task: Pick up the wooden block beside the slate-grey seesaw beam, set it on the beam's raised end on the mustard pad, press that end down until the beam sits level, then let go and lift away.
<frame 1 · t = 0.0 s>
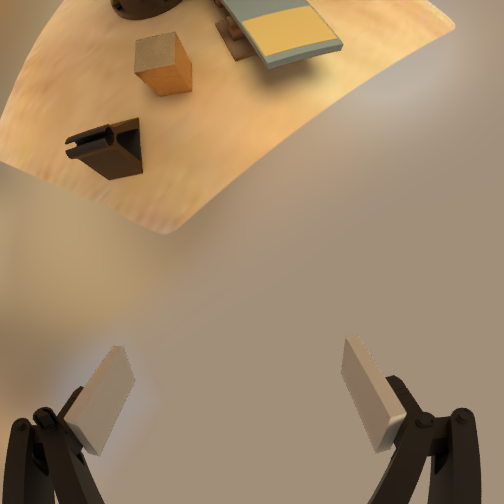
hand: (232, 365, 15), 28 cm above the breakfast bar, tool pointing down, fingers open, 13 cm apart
phone stand: (124, 148, 38), on the breakfast bar
wooden block: (175, 79, 35), on the breakfast bar
beam stand: (263, 30, 33), on the breakfast bar
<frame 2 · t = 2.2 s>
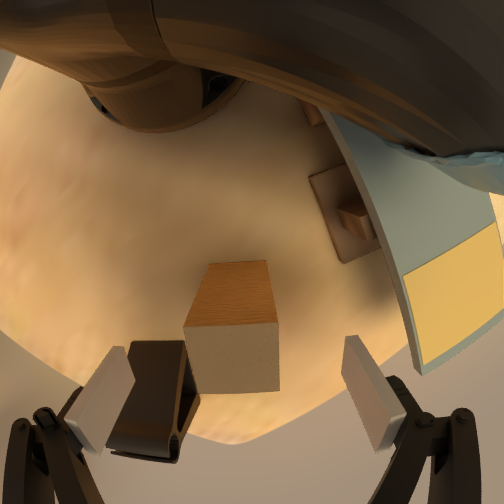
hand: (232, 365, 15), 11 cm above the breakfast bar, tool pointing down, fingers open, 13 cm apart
phone stand: (167, 371, 28), on the breakfast bar
wooden block: (239, 288, 25), on the breakfast bar
beam stand: (386, 194, 23), on the breakfast bar
beam: (445, 202, 14), point 9 cm above the breakfast bar, hinge at -12.0°
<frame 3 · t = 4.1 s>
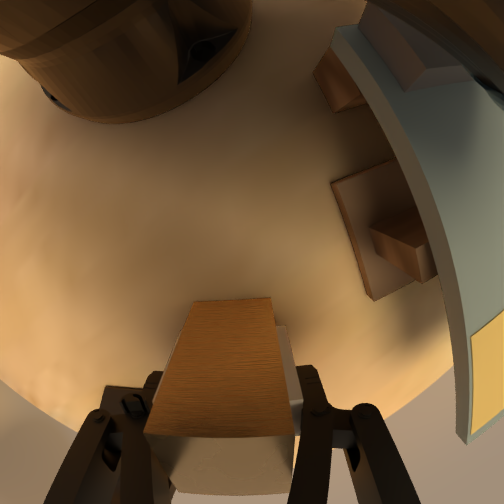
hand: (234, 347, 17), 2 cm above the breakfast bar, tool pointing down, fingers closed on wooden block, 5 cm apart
phone stand: (151, 419, 21), on the breakfast bar
wooden block: (235, 332, 19), on the breakfast bar, touching gripper
beam stand: (427, 207, 16), on the breakfast bar
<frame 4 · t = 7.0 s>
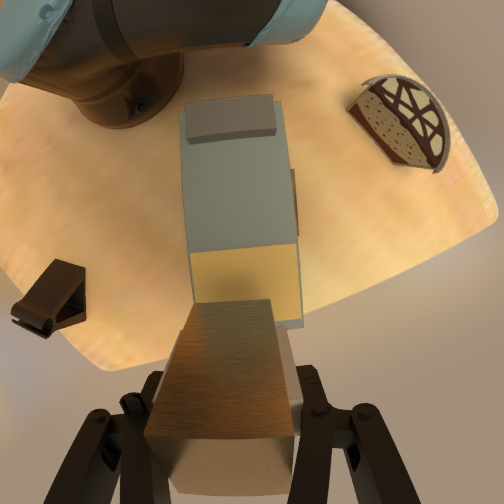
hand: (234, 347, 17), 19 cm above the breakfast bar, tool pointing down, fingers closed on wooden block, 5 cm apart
phone stand: (71, 289, 36), on the breakfast bar
wooden block: (235, 333, 19), point 17 cm above the breakfast bar, touching gripper
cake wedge: (383, 124, 31), on the breakfast bar
beam: (239, 214, 25), point 9 cm above the breakfast bar, hinge at -12.0°
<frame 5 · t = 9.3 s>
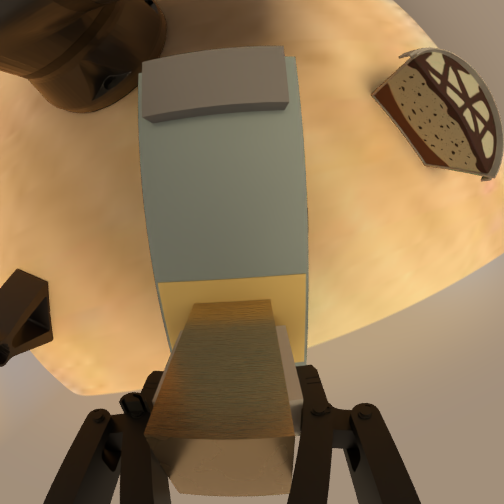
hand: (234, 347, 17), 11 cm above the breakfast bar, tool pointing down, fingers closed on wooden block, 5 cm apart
phone stand: (35, 304, 28), on the breakfast bar
wooden block: (235, 334, 19), point 9 cm above the breakfast bar, touching beam, gripper
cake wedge: (414, 115, 23), on the breakfast bar
beam: (225, 232, 17), point 9 cm above the breakfast bar, hinge at -0.2°, touching wooden block
when the fingers open (11 cm above the breakfast bar, at t = 10.2 s): wooden block stays where it is, resting on beam.
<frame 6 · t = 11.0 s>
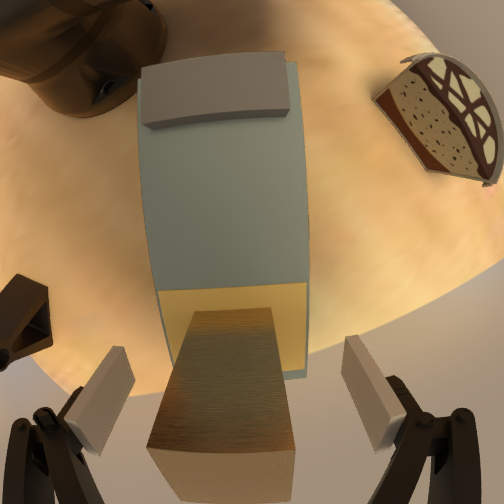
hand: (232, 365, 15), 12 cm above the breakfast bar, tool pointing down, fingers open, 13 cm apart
phone stand: (35, 309, 28), on the breakfast bar
wooden block: (235, 341, 18), point 9 cm above the breakfast bar, touching beam
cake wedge: (415, 120, 23), on the breakfast bar
beam: (225, 241, 16), point 9 cm above the breakfast bar, hinge at -0.1°, touching wooden block
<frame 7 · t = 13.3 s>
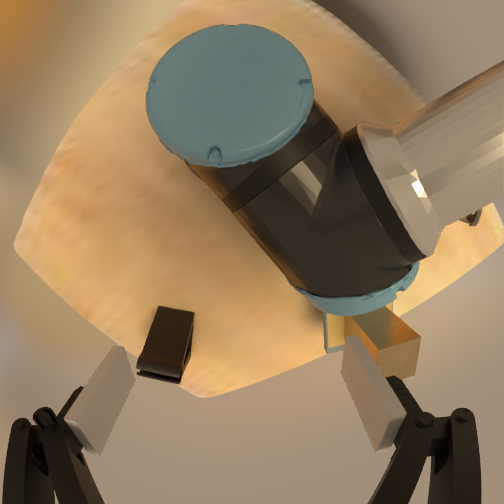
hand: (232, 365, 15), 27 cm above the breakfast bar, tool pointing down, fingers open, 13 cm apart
phone stand: (175, 331, 44), on the breakfast bar
wooden block: (361, 320, 34), point 9 cm above the breakfast bar, touching beam
beam: (360, 272, 33), point 9 cm above the breakfast bar, hinge at -2.7°, touching wooden block
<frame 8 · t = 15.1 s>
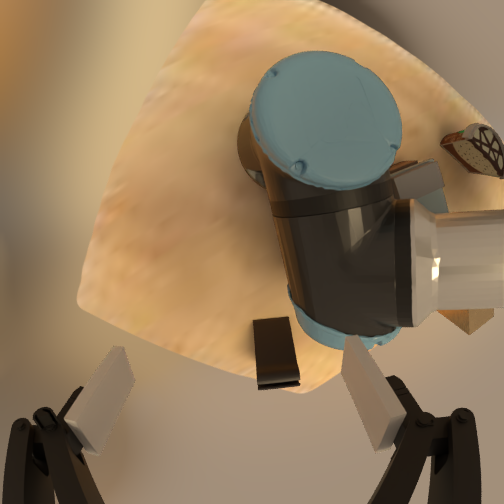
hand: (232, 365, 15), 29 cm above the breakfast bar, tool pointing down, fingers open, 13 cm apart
phone stand: (272, 339, 47), on the breakfast bar
wooden block: (437, 283, 35), point 9 cm above the breakfast bar, touching beam
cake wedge: (458, 146, 39), on the breakfast bar
beam: (430, 242, 34), point 9 cm above the breakfast bar, hinge at -2.5°, touching wooden block
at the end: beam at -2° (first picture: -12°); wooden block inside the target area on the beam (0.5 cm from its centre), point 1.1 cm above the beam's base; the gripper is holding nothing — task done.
